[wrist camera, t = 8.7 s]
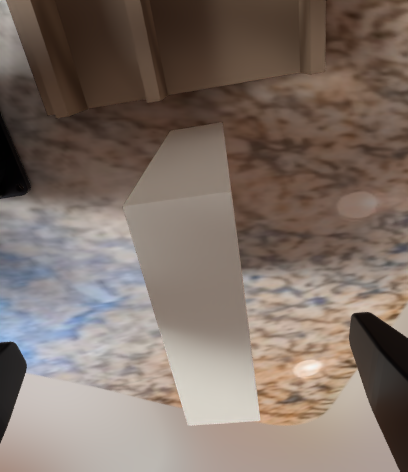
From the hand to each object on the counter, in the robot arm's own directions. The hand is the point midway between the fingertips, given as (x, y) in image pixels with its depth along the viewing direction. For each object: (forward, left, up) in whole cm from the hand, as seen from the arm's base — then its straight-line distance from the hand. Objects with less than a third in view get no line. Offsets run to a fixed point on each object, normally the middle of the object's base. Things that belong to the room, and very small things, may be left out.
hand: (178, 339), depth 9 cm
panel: (-2, 0, -13) cm, 13 cm away
